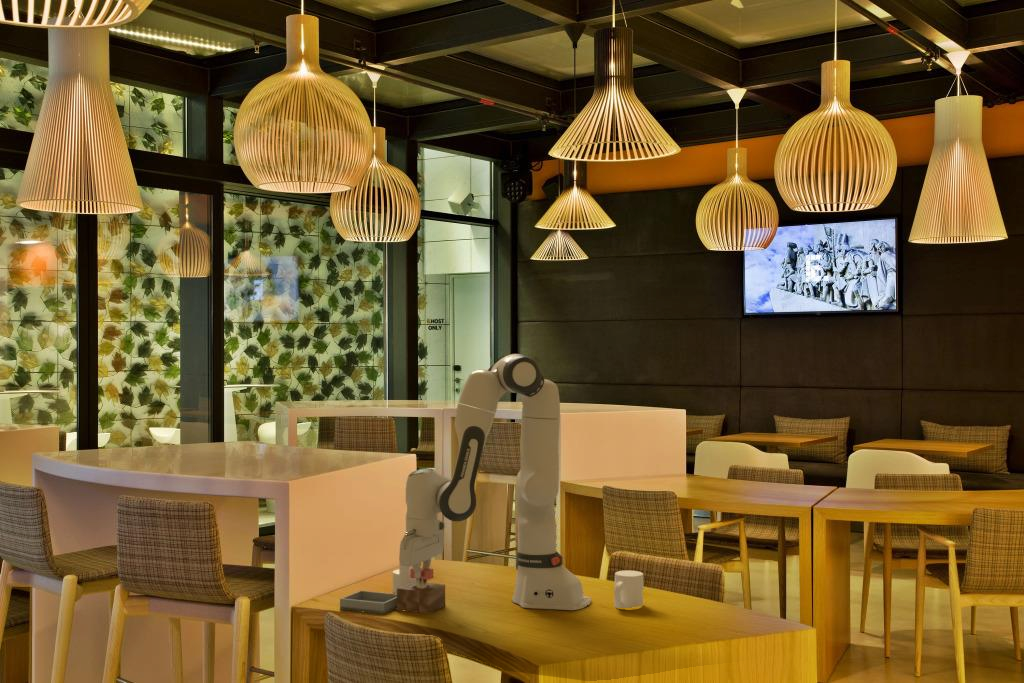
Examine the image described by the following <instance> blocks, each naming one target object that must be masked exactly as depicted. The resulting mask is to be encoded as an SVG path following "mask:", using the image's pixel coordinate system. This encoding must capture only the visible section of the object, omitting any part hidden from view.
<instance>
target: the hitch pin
mask: <svg viewBox="0 0 1024 683" xmlns="http://www.w3.org/2000/svg"><path fill="white" fill-rule="evenodd" d="M420 568H421V571H423V574H422V575H423V576H422V577H421V578H416V587H417V588H427V583H428V581H430V580H432V579H434V568H429V569H428V568H422V567H420ZM410 578H415V572H414V570H413V568H411V569H410Z"/></svg>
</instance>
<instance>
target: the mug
mask: <svg viewBox="0 0 1024 683" xmlns="http://www.w3.org/2000/svg"><path fill="white" fill-rule="evenodd" d="M644 584H645V583H644V573H643V572H642V571H638V570H629V569H628V570H627V569H626V570H619V571H616V572H615V573H614V589H613V590H614V592H613V593H614V594H613V603H614V605H613V606H614V608H615V607H617V608H632V607H638V606H641V605H643V606H644V594H643V592H644V590H645V588H644V586H645V585H644Z"/></svg>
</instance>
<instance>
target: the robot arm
mask: <svg viewBox="0 0 1024 683" xmlns="http://www.w3.org/2000/svg"><path fill="white" fill-rule="evenodd" d="M506 393H514V394H516V393H517V394H518V395H519V396H520V398H521V399H520V400H521V406H522V410H521V419H520V421H521V423H520V439H519V440H520V442H519V443H520V445H519V446H520V448H519V450H520V467H519V468H520V470H519V471H518V473H517V475H516V477H515V478H516V479H515V494H516V495H515V497H516V517H517V551H516V556H515V566H516V570H517V571H516V579H515V580H516V581H515V587H514V591H513V592H514V593H513V595H512V601H511V602H513V603H515V604H516V605H519V606H520V607H521V608H523V609H538V610H539V609H542V610H543V609H544V610H560V611H562V610H563V611H577V610H581V609H584V608H586V607H587V605H588V606H589V605H590V604H591V603H590V602H592V600H591V597H590V596H587V595H584V591H583V584H582V582H581V580H580V579H579V577H577V576H576V575H575V574H573V573H572V572H571V571H570V570H568V568H566V567H565V566H564V565H563V559H565V554H563V553H562V554H560V553H559V552H558V551H557V521H556V520H557V519H556V510H555V509H556V508H555V500H556V498H557V496H558V494H559V487H560V482H559V481H560V476H559V475H560V472H559V470H560V462H559V461H560V458H559V456H560V455H559V439H560V422H561V421H560V420H561V400H560V394H559V387H558V385H557V384H556V383H555V382H553V381H551V380H550V379H546V378H544V376H543V374H542V371H541V369H540V367H539V364H538V363H537V362H536V361H535V360H534V359H533V358H532V357H531V356H528V355H526V354H520V353H512V354H507V355H503V356H501V357H499V358H498V359H497V360H496V361H494V363H493V364H492V365H491V366H490V367H489V368H488V369H476V370H474V371H471V373H469V375H468V377H467V379H466V381H465V384H464V386H463V388H462V390H461V393H460V396H459V399H458V403H457V406H456V407H457V408H456V410H455V416H454V429H455V433H456V435H457V436H456V437H457V440H458V452H457V458H456V461H455V465H454V469H453V474H452V477H451V478H450V477H448V476H445V475H443V474H440V473H439V472H437V471H436V470H435V469H434V468H422V469H421V468H420V469H417V470H414V471H412V472H410V474H408V476H407V479H406V483H405V484H406V486H405V505H406V513H405V533H404V536H403V537H402V538H401V540H400V544H399V554H398V555H399V557H398V559H399V562H400V565H401V566H412V567H413V570H414V572H415V578H421V577H422V576H423V575H422V574H423V571H421V568H428V569H430V567H431V563H432V559H433V558H435V557H438V556H440V555H442V554H443V551H444V546H445V533H444V530H445V528H446V524H445V523H446V522H445V521H442V520H439V519H438V514H440V513H441V514H442V515H443V517H444V518H446V519H448V520H449V521H451V522H463V521H466V520H467V519H469V518H470V517H471V516H472V515H473V514H474V512H475V510H476V507H477V496H476V490H475V487H476V480H477V475H478V470H479V466H480V463H481V459H482V458H481V457H482V453H483V450H484V447H485V444H486V441H487V439H488V436H489V434H490V431H491V428H492V425H493V422H494V420H495V416H496V413H497V409H498V404H499V403H500V399H501V398H502V397H503V396H504V395H505V394H506ZM421 566H422V567H421Z"/></svg>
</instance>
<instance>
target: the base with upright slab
mask: <svg viewBox="0 0 1024 683" xmlns="http://www.w3.org/2000/svg"><path fill="white" fill-rule="evenodd" d="M398 565H399V566H398V569H395V570H392V593H393V592H394V593H396V594H397V588H399V587H402V586H404V585H406V584H409V583H411V582H413V581H416V578H410V569H411V568H413V567H412V566H401V565H400V562H399V563H398ZM394 593H393V594H394Z"/></svg>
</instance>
